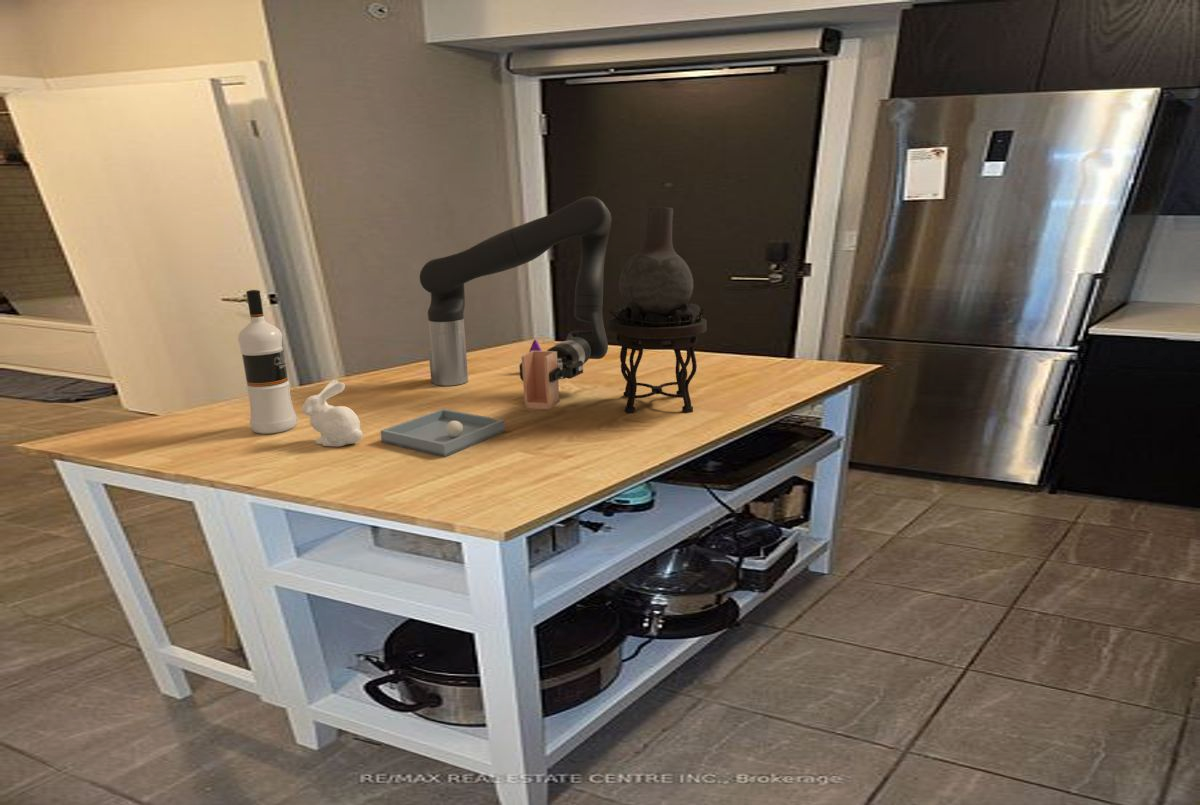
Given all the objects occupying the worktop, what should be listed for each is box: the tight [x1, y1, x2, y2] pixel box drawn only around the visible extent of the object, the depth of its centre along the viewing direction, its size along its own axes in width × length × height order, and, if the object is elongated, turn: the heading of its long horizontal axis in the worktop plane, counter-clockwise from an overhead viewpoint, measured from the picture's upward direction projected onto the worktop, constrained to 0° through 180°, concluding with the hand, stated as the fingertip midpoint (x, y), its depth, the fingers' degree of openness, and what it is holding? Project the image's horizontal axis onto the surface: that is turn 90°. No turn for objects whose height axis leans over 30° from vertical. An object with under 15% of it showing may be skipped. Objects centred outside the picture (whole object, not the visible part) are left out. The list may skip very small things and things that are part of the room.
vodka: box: [237, 289, 298, 435], centre depth 143 cm, size 9×9×30 cm
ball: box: [446, 421, 463, 437], centre depth 136 cm, size 3×3×3 cm
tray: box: [380, 408, 506, 458], centre depth 139 cm, size 18×18×2 cm
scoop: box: [521, 350, 560, 410], centre depth 141 cm, size 6×6×11 cm
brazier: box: [607, 206, 708, 414], centre depth 154 cm, size 22×22×45 cm
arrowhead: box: [528, 339, 543, 353], centre depth 192 cm, size 10×2×10 cm
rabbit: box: [302, 379, 364, 448], centre depth 136 cm, size 12×9×12 cm
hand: (536, 376), depth 139 cm, fingers closed on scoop, 5 cm apart
